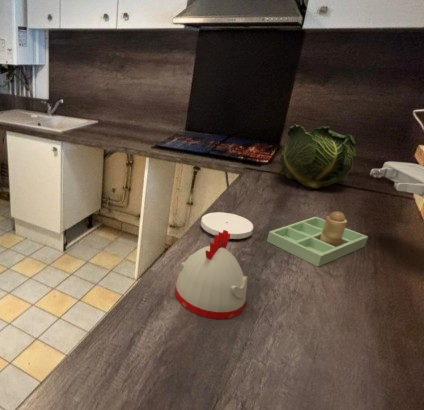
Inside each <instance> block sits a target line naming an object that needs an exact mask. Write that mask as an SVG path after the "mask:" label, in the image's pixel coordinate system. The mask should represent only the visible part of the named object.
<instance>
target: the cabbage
mask: <svg viewBox="0 0 424 410" xmlns="http://www.w3.org/2000/svg"><path fill="white" fill-rule="evenodd" d="M286 135H288V140H286V143H285V145H284V146H283V149H282V151H281V153H280V157H279V163H280V164H279V166H280V168H279V172H278V173H279V174H281V175H284V176H286V177H287V179H289V180H293V181H295V180H296V182H298V183H299V184H301V185H303V186H304V188H305V189H306V190H308V191H312V190H318V189H320V188H321V187H327V186H330V185H333V184H335V183H338V182H339V181H341V180H343V179H344V178H346V177H347V176H348V175H349V173H351V171H352V169H353V167H354V162H355V161H356V159H357V157H358V156H357V155H358V153H357V149H356V147H357V143H356V141H355V139H354V136H353V135H351V134H350V133H349V134H346V135H343V134H340V133H338V132H335V131H333V130H330V126H327V125H326V126H321V127H314V128H313V129H312V130H311V131H310V132H309V131H308V132H307V130H306V128H305V127H304V126H303V125H298V124H293V125H292V126H291V125H290V126H289V129H288V130H287V133H286Z"/></svg>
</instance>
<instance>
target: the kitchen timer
mask: <svg viewBox="0 0 424 410" xmlns="http://www.w3.org/2000/svg"><path fill="white" fill-rule="evenodd" d="M230 235H231V234H229V233H228V231H226V230H223V233H221V232H219V234H218V235H216V234H215V235H214V238H213V242H212V241H210V243H209V245H208V246H207V245H206V246H204V247H202V248H200V249H198V250H197V251H195V252H193V253H192V254H190V255H189V256H188V258H187V259H186V260H185V261H182V262H181V265H180V269H179V271H180V272H179V274H178V276H177V280H176V284H175V291H174V294H175V297H176V299H177V301H178V302H179V303H180V305H181V306H183V307H184V308H185V309H186V310H188V311H190V312H192V313H193V314H195V315H197V316H202V317H203V318H206V319H207V318H208V319H213V320H228V319H231V318H235V317H236V316H238V315H240V314H241V313H242V312H243V310H244V308H245V306H246V305H245V304H246V301H247V300H246V299H247V296H246V295H247V291H248V276H246V275H244V272H243V270H242V268H241V265H240V263H239V261H238V260H237V259H236V257H235V256H234V254H232V252H230V251H229V250H228V249H227V246H228V244H229V241H230Z"/></svg>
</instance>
